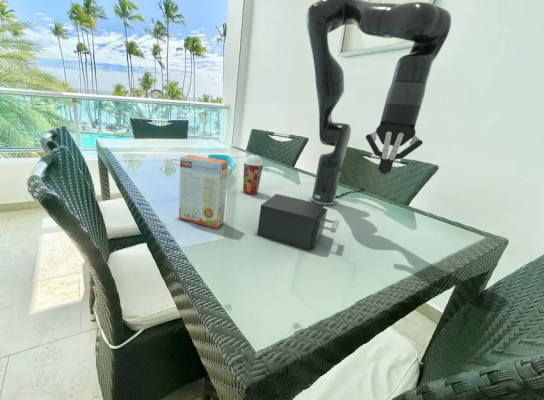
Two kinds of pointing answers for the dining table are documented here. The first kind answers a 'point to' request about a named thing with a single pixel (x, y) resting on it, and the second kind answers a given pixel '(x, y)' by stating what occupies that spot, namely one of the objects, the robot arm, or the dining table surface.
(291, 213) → the cabinet
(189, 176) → the cracker box
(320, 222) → the drawer
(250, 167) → the smoothie
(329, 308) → the dining table surface
